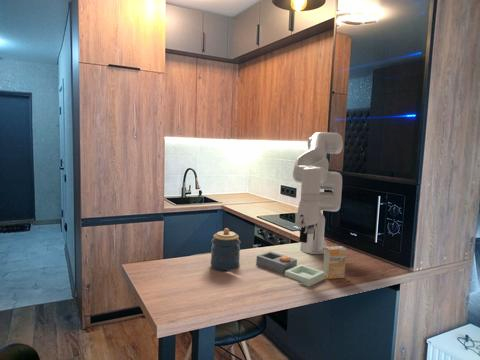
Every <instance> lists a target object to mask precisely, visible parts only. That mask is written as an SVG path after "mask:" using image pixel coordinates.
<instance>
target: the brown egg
mask: <svg viewBox="0 0 480 360" xmlns="http://www.w3.org/2000/svg"><path fill="white" fill-rule="evenodd" d="M290 258H291V257H289V256H288V255H284V256H281V257H280V260H281V261H283V262H288V261H290Z"/></svg>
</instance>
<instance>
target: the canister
mask: <svg viewBox="0 0 480 360" xmlns="http://www.w3.org/2000/svg"><path fill="white" fill-rule="evenodd" d="M239 238H240V236H239V234H237V233H236V232H234V231H230V229H229V227H228V228H227V227H226V228H224V229H223V230H221V231H217V232H216V233H214V234H213V238H211V241H210V242H211V244H212V245H211V247H210V249H211V252H210V254H211V255H210V267H211V269H213V270H215V271H218V272H229V271H231V270H235V269H237V268H239V267H240V256H241V255H240V253H241V247H240V244H241V240H240V239H239Z"/></svg>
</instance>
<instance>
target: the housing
mask: <svg viewBox="0 0 480 360" xmlns="http://www.w3.org/2000/svg"><path fill="white" fill-rule="evenodd" d="M281 256H285V254H284V255H283V254H280V253H277V252H274V251H267V252H264V253H261V254H258V255H256V261H255V262H256V263H255V264H256V265H257V266H260V267H263V268H264V269H267V270H268V269H269V270H271V271H274V272H277V273H279V274H282V275H285V271H286V270H288V269H291V268H293V267H296V266H298V263H297V262H298V259H296V258H292V257H290V261H288V262H283V261H281V260H280V257H281Z"/></svg>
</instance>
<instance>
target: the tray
mask: <svg viewBox="0 0 480 360" xmlns="http://www.w3.org/2000/svg"><path fill="white" fill-rule="evenodd" d="M284 277H287V278H290V279H293V280H296V281H299V282H298V284H301V285H303V286H306V287H311V286H313V285H315V284H317V283H319V282H321V281H324V280H325V272H323V270H319V269H317V268H313V267H310V266H307V265H304V264H302V263H301V264H297V266H296V267H293V268H291V269H288V270H286V271H285V273H284Z"/></svg>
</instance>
